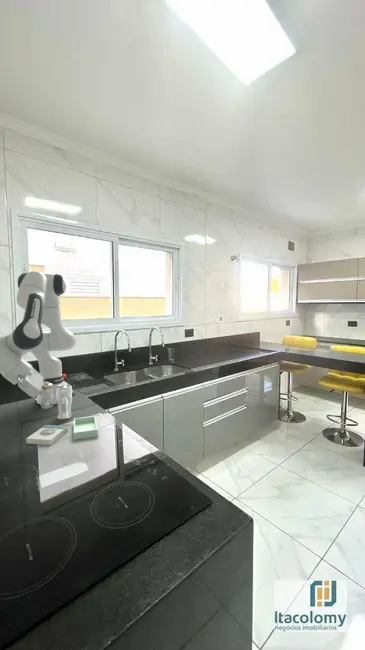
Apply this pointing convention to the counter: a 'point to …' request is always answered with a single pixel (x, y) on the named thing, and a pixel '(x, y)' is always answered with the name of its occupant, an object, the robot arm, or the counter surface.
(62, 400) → the clear plastic bottle
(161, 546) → the counter surface
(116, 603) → the counter surface
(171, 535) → the counter surface
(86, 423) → the trough
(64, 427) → the white flat block
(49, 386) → the cell
